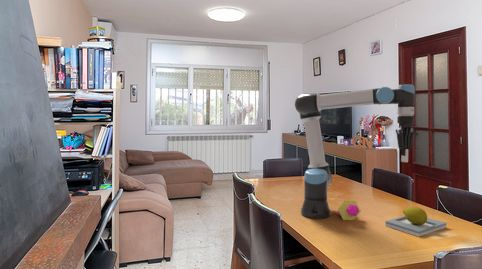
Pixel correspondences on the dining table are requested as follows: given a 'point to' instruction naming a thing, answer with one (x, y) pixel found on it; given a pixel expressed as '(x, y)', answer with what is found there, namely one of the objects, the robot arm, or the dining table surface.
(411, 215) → the lemon
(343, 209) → the toy
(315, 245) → the dining table surface
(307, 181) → the robot arm
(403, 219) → the baseplate
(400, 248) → the dining table surface
